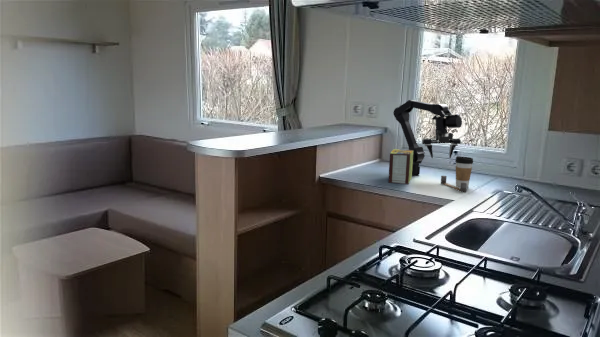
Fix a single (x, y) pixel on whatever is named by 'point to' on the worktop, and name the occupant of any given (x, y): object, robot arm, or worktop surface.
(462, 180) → the coffee cup
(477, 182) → the worktop surface
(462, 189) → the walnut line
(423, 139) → the robot arm
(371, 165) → the worktop surface
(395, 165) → the protein box
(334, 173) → the worktop surface
